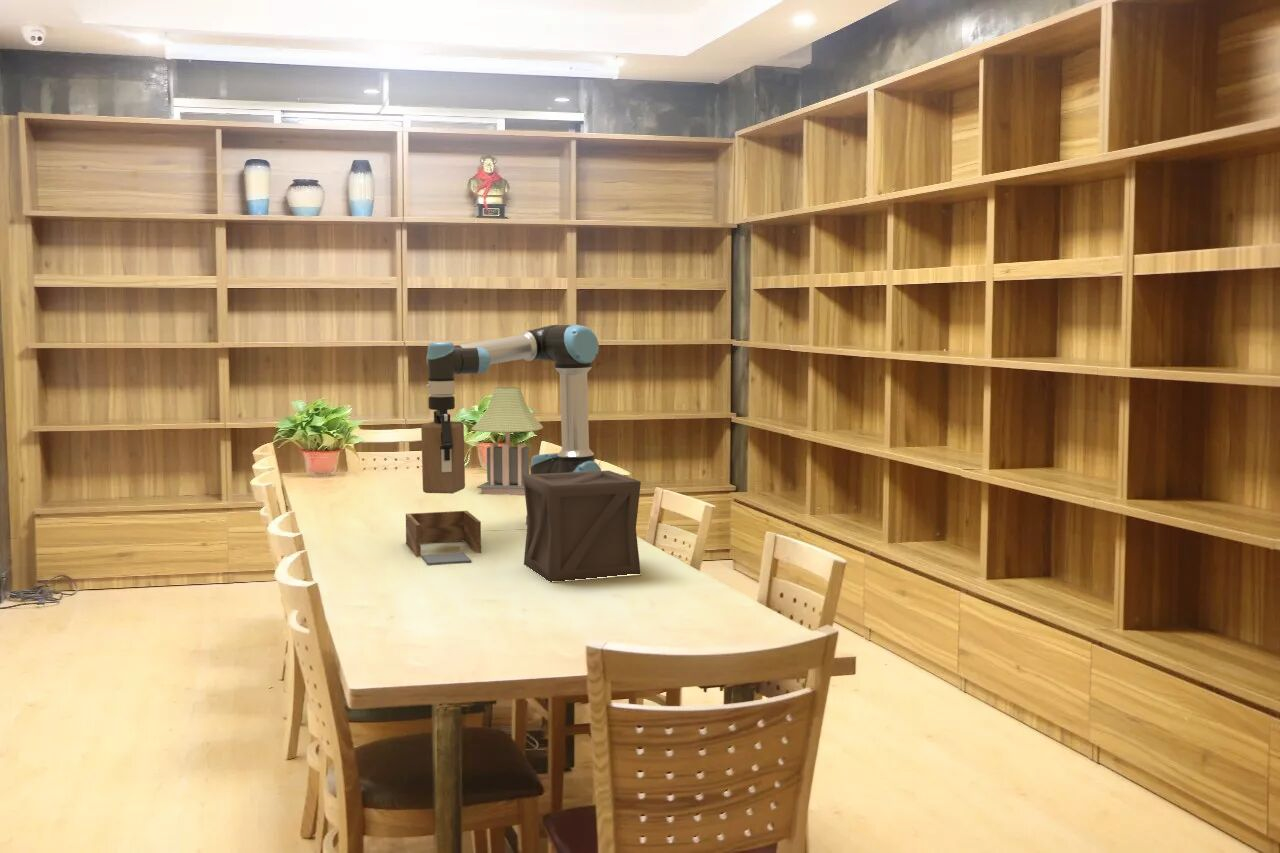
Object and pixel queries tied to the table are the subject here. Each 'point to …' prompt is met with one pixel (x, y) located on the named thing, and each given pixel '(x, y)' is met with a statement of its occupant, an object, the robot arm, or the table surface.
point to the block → (433, 459)
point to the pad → (446, 558)
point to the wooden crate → (581, 525)
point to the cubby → (442, 529)
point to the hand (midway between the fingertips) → (442, 469)
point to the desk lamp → (507, 460)
